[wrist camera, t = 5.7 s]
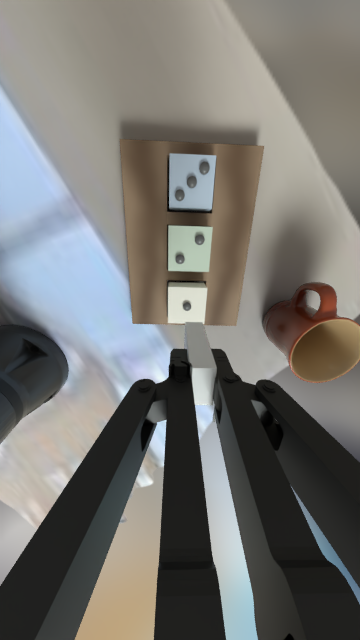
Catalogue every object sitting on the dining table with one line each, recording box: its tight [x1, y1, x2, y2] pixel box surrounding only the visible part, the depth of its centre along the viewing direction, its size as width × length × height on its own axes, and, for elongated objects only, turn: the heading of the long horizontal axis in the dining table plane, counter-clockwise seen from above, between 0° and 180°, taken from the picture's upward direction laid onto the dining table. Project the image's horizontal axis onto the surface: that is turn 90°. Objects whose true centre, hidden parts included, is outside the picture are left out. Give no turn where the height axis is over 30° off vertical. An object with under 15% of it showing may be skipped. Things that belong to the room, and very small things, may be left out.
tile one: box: [168, 282, 207, 324], centre depth 27 cm, size 5×5×4 cm
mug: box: [263, 282, 360, 383], centre depth 26 cm, size 12×9×10 cm
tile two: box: [168, 225, 213, 272], centre depth 24 cm, size 5×5×4 cm
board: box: [120, 139, 264, 326], centre depth 26 cm, size 16×22×2 cm
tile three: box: [169, 153, 216, 213], centre depth 23 cm, size 5×5×4 cm
